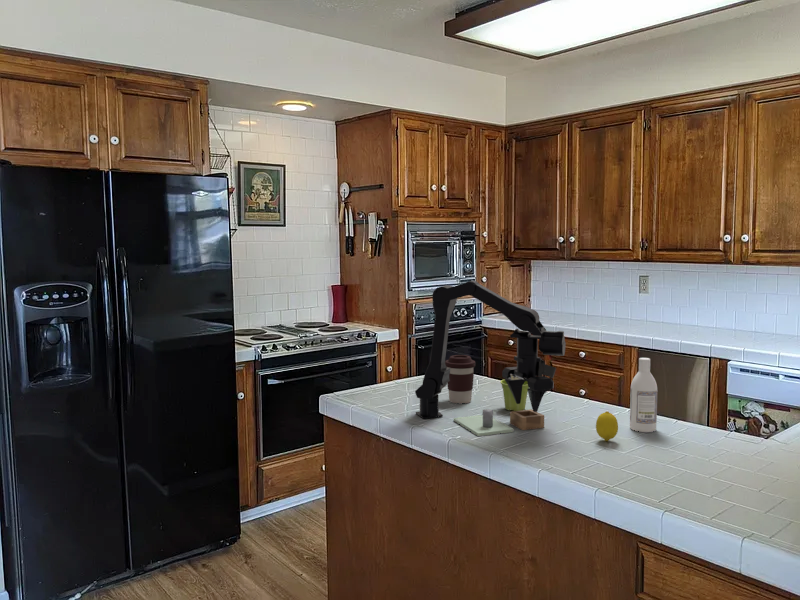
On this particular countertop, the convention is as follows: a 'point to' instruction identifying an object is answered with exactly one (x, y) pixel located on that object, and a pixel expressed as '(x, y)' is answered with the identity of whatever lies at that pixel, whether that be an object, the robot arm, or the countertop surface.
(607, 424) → the lemon
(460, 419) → the keeper board
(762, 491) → the countertop surface
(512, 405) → the plant pot
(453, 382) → the coffee cup
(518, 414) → the link
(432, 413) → the robot arm
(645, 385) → the bath foam
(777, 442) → the countertop surface
